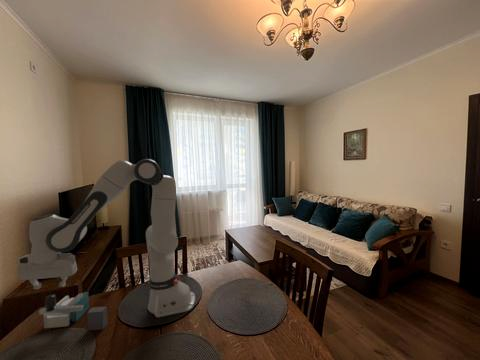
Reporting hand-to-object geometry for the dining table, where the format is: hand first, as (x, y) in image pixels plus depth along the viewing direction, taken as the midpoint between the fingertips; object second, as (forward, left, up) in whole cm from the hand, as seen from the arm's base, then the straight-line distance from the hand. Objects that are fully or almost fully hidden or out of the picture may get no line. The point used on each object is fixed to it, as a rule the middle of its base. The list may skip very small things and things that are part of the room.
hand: (50, 287), depth 86 cm
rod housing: (-18, 0, -19) cm, 26 cm away
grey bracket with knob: (-4, -6, -19) cm, 20 cm away
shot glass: (-1, -8, -19) cm, 21 cm away
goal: (0, -9, -19) cm, 21 cm away
